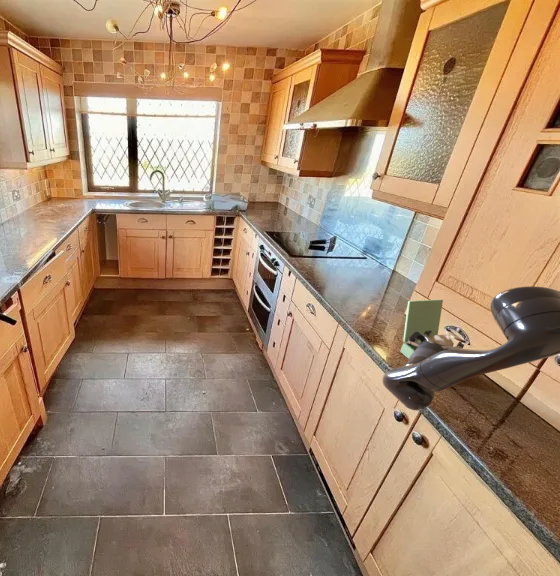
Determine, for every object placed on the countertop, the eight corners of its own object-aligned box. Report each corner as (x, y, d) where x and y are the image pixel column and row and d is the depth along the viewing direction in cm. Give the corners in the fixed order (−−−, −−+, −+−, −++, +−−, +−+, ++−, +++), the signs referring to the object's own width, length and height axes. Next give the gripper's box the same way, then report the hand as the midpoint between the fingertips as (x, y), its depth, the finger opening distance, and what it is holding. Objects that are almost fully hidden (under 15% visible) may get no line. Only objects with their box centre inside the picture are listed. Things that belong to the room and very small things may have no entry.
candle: (429, 354, 102) (440, 329, 97) (447, 365, 97) (460, 339, 93) (417, 359, 100) (428, 333, 95) (435, 369, 95) (448, 343, 91)
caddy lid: (443, 299, 100) (431, 296, 104) (409, 301, 100) (399, 298, 104) (437, 340, 103) (426, 335, 107) (404, 342, 102) (394, 337, 107)
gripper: (465, 363, 80) (479, 339, 89) (402, 338, 90) (421, 318, 99) (454, 384, 84) (468, 359, 93) (394, 358, 94) (413, 337, 103)
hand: (444, 338), depth 96 cm, fingers open, 7 cm apart
